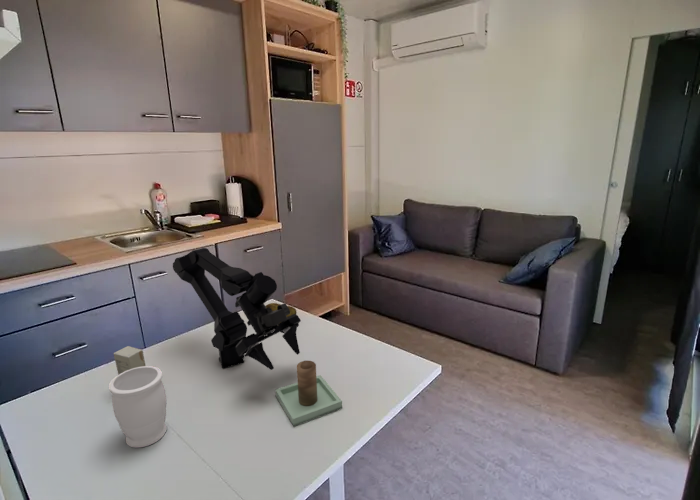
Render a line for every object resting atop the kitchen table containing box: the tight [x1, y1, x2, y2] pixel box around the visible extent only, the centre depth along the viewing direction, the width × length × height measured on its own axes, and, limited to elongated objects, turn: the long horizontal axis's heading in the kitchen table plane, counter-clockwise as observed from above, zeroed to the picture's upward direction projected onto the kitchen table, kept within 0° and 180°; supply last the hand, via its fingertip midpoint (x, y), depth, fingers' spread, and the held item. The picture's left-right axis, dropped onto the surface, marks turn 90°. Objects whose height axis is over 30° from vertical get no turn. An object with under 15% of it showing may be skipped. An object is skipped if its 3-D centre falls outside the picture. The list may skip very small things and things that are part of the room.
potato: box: [265, 302, 297, 324], centre depth 143 cm, size 8×13×8 cm, turn 108°
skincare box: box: [113, 345, 147, 375], centre depth 103 cm, size 6×4×12 cm
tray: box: [275, 374, 343, 427], centre depth 99 cm, size 13×13×2 cm
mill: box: [296, 360, 317, 406], centre depth 97 cm, size 5×5×11 cm
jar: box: [108, 365, 167, 448], centre depth 87 cm, size 11×10×15 cm
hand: (286, 361), depth 101 cm, fingers open, 9 cm apart
